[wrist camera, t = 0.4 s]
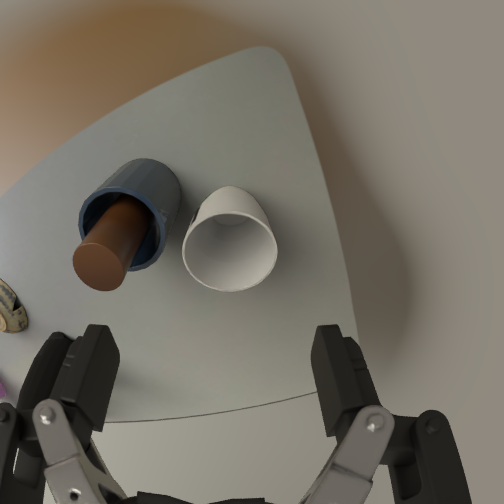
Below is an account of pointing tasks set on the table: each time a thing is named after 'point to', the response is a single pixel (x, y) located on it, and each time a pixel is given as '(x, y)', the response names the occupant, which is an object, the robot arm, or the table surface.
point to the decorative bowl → (10, 311)
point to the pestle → (112, 243)
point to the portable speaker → (43, 372)
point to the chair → (2, 390)
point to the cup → (229, 242)
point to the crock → (148, 191)
